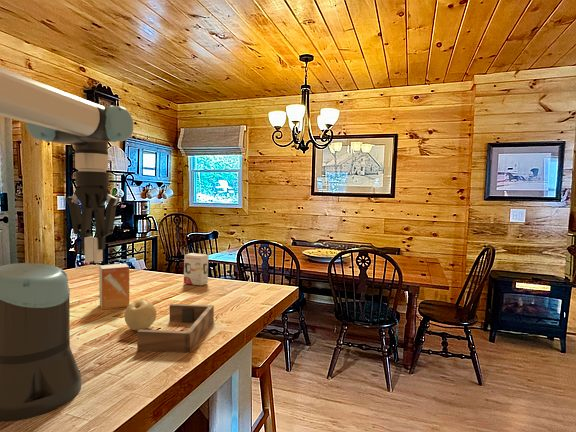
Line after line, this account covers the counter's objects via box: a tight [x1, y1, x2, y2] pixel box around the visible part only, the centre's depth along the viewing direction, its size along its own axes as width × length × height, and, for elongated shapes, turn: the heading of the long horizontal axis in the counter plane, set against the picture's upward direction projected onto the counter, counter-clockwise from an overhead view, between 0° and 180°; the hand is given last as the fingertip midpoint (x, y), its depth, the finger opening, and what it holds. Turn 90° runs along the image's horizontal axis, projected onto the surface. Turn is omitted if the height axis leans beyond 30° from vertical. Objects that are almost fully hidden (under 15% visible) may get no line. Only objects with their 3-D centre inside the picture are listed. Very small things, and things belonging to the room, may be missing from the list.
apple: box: [123, 299, 157, 332], centre depth 99 cm, size 8×8×8 cm
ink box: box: [183, 252, 209, 286], centre depth 149 cm, size 9×5×12 cm, turn 70°
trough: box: [136, 303, 215, 353], centre depth 96 cm, size 21×12×4 cm, turn 177°
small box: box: [98, 262, 130, 310], centre depth 119 cm, size 8×6×13 cm
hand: (93, 261), depth 97 cm, fingers closed
